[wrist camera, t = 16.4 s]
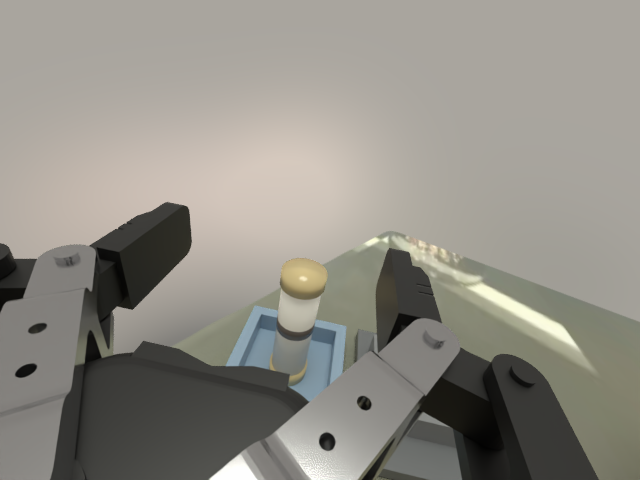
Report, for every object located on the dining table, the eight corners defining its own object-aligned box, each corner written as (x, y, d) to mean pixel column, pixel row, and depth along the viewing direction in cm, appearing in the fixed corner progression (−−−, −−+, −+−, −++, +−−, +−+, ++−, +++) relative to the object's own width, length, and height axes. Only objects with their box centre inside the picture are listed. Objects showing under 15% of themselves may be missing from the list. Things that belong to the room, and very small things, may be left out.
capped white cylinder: (308, 358, 36) (330, 263, 29) (301, 390, 32) (324, 291, 25) (274, 350, 36) (287, 254, 29) (263, 381, 32) (276, 280, 25)
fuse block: (441, 356, 41) (454, 333, 38) (480, 501, 27) (503, 478, 25) (355, 336, 41) (363, 313, 39) (350, 469, 27) (362, 444, 25)
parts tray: (340, 344, 40) (346, 326, 38) (331, 440, 29) (338, 421, 27) (253, 324, 40) (255, 305, 38) (213, 412, 30) (213, 391, 28)
